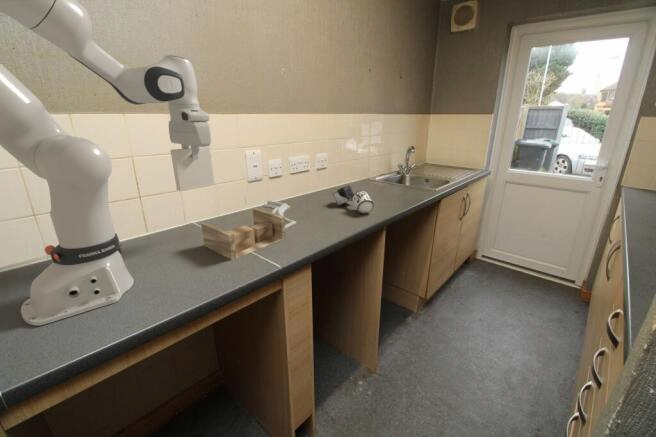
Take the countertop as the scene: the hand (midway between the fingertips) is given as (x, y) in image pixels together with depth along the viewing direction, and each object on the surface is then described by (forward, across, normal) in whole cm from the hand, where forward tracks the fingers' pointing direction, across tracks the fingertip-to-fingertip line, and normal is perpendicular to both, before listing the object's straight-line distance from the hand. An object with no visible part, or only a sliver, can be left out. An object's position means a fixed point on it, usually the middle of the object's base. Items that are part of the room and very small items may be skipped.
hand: (191, 158), depth 102 cm
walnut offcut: (+28, +18, +12) cm, 35 cm away
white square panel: (+10, 0, 0) cm, 10 cm away
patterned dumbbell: (+29, +20, +65) cm, 74 cm away
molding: (+30, +1, +34) cm, 45 cm away
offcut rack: (+29, +16, +7) cm, 34 cm away
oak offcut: (+28, +18, +3) cm, 33 cm away
